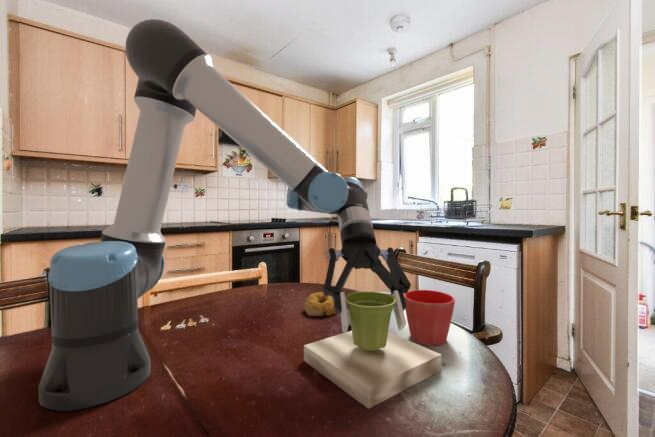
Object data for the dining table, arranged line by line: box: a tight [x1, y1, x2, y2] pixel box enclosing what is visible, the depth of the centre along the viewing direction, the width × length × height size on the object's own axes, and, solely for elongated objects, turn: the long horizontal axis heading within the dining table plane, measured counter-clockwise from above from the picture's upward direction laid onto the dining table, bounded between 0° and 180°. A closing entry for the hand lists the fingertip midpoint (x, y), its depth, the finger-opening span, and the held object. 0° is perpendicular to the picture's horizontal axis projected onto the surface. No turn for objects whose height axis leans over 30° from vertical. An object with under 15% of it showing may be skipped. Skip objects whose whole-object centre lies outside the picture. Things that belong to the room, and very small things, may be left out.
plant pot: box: [345, 290, 396, 351], centre depth 58 cm, size 9×9×9 cm
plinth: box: [303, 330, 442, 409], centre depth 58 cm, size 18×18×3 cm
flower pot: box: [404, 289, 456, 346], centre depth 70 cm, size 11×11×10 cm
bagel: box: [303, 291, 337, 317], centre depth 89 cm, size 10×11×5 cm
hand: (374, 328), depth 55 cm, fingers open, 10 cm apart
